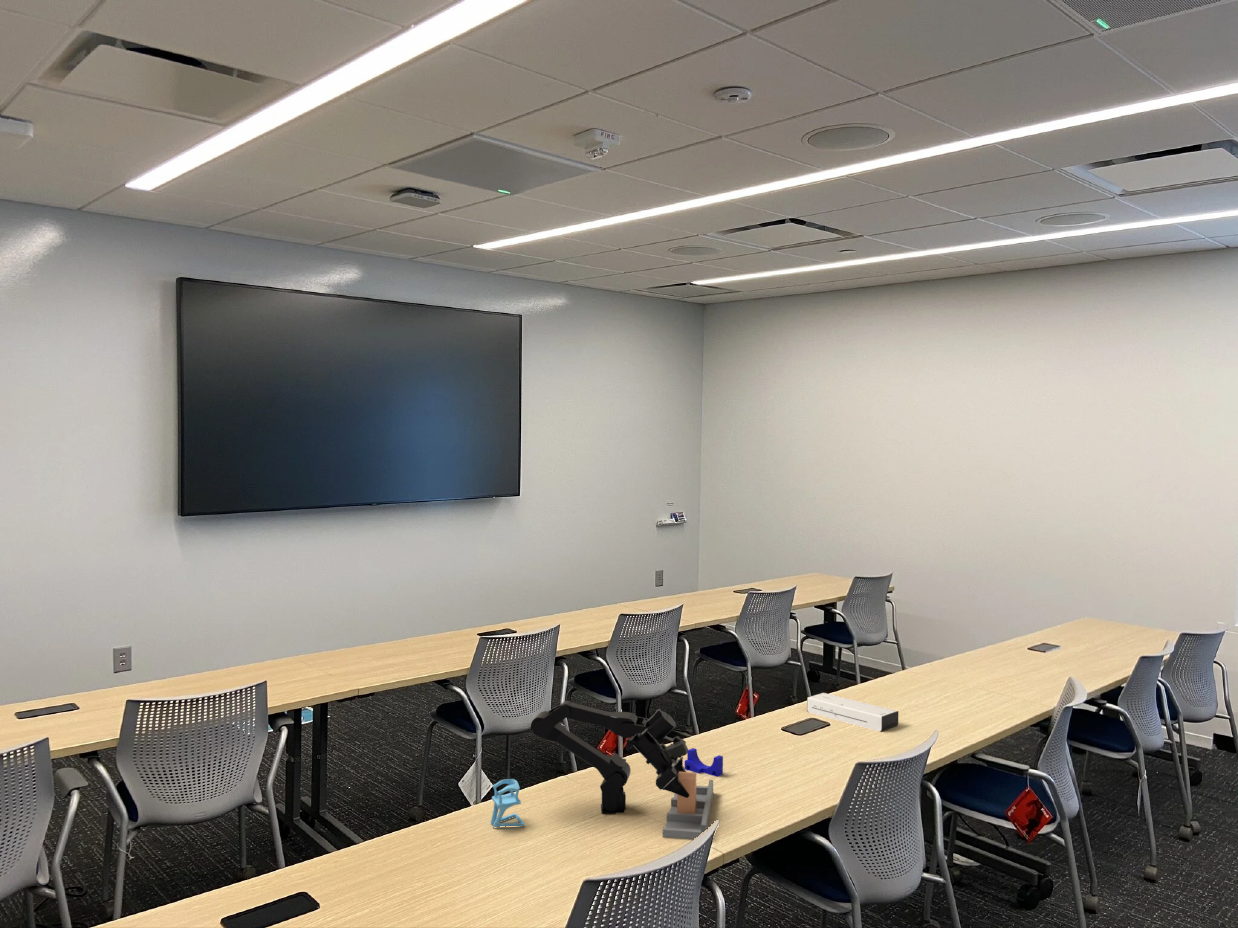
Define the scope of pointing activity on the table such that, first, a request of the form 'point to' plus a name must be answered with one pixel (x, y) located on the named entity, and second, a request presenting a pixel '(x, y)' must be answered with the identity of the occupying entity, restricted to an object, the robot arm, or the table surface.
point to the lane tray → (690, 816)
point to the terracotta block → (690, 785)
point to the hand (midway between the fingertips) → (689, 790)
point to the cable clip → (698, 767)
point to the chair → (505, 803)
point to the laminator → (852, 712)
